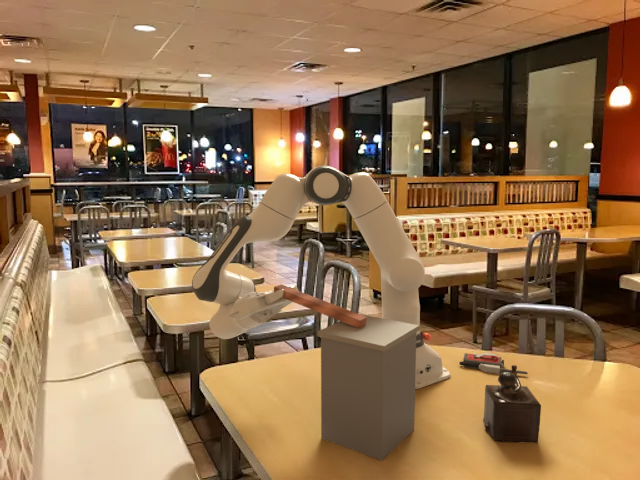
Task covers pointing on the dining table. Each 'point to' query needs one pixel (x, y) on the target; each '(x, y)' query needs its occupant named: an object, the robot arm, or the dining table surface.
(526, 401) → the manual coffee grinder
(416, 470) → the dining table surface
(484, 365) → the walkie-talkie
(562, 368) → the dining table surface
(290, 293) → the copper-colored stick
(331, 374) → the shelf block
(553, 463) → the dining table surface
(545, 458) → the dining table surface
